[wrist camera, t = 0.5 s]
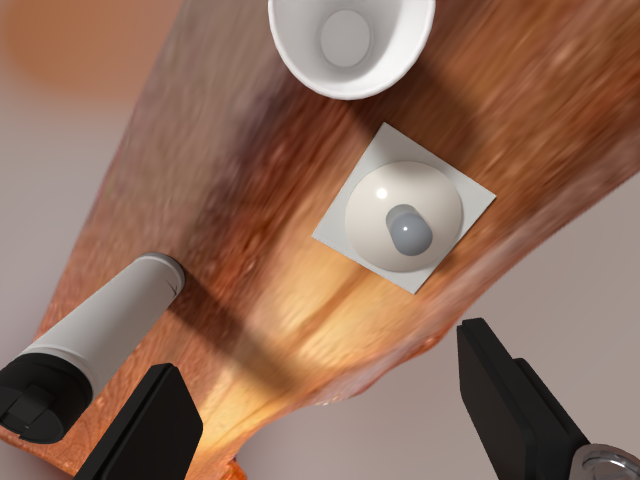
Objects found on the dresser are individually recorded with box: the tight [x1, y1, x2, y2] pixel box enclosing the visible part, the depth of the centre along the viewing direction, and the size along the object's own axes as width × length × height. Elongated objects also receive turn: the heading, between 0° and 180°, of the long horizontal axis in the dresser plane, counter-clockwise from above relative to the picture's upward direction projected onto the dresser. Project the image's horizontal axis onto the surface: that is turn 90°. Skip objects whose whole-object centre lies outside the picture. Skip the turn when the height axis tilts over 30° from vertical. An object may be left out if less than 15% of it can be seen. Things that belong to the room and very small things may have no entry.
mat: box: [312, 122, 496, 294], centre depth 36 cm, size 14×14×1 cm
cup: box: [268, 0, 436, 100], centre depth 25 cm, size 10×10×11 cm
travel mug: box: [0, 253, 185, 444], centre depth 31 cm, size 6×7×20 cm
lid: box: [345, 160, 461, 271], centre depth 33 cm, size 12×12×6 cm
